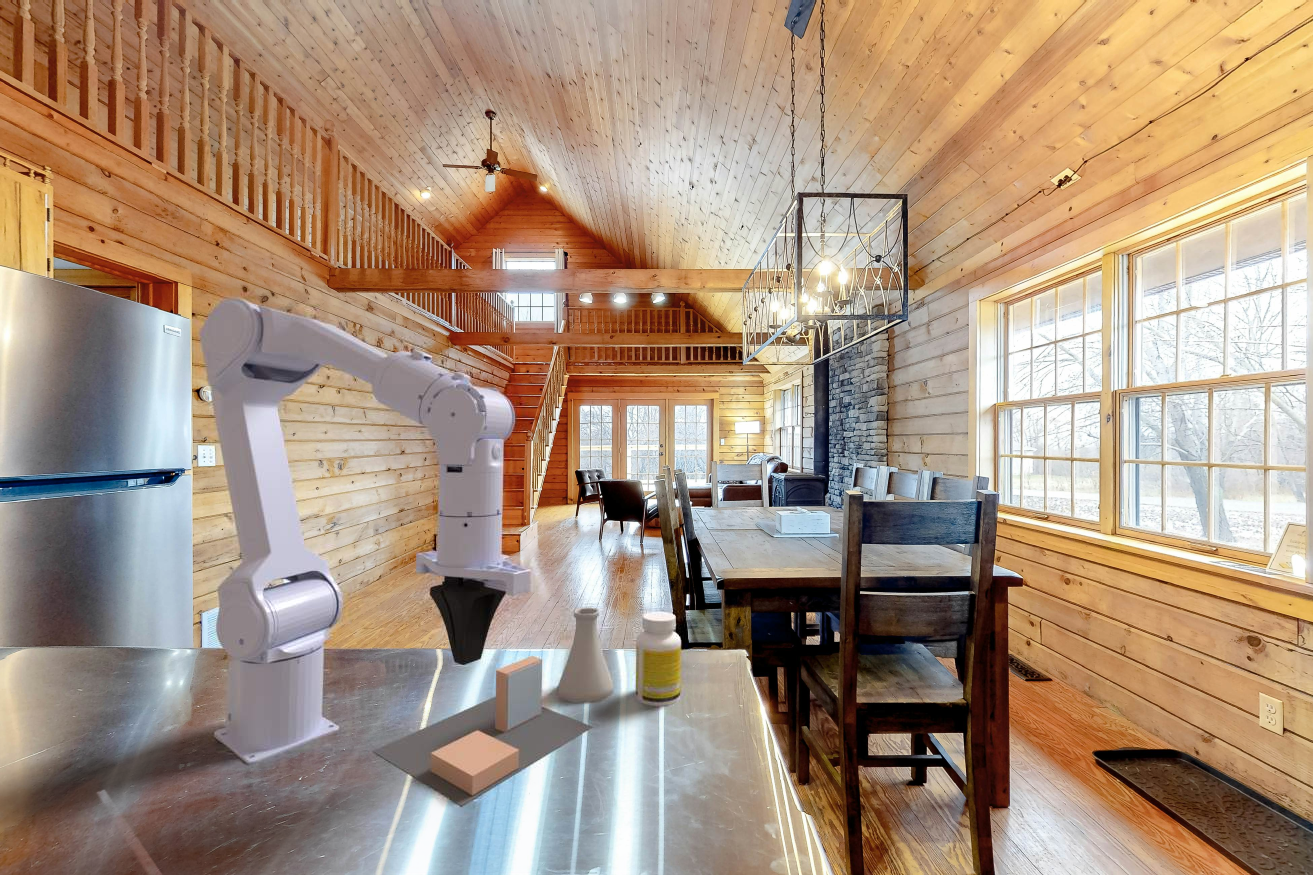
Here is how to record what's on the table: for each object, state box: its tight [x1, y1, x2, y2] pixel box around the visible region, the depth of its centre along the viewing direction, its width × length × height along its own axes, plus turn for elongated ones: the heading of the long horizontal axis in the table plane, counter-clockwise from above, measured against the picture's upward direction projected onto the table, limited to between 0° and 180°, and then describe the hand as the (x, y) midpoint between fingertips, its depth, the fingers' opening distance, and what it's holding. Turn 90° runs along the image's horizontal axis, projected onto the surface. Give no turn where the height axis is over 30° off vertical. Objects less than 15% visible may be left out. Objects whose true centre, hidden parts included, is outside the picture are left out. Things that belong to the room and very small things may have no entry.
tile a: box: [431, 730, 519, 795], centre depth 50 cm, size 2×5×6 cm
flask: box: [556, 606, 615, 704], centre depth 67 cm, size 7×7×10 cm
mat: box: [372, 695, 594, 807], centre depth 55 cm, size 14×16×1 cm
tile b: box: [495, 655, 543, 733], centre depth 59 cm, size 2×5×6 cm, turn 145°
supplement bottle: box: [635, 611, 682, 707], centre depth 66 cm, size 5×5×10 cm
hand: (467, 660), depth 51 cm, fingers closed
